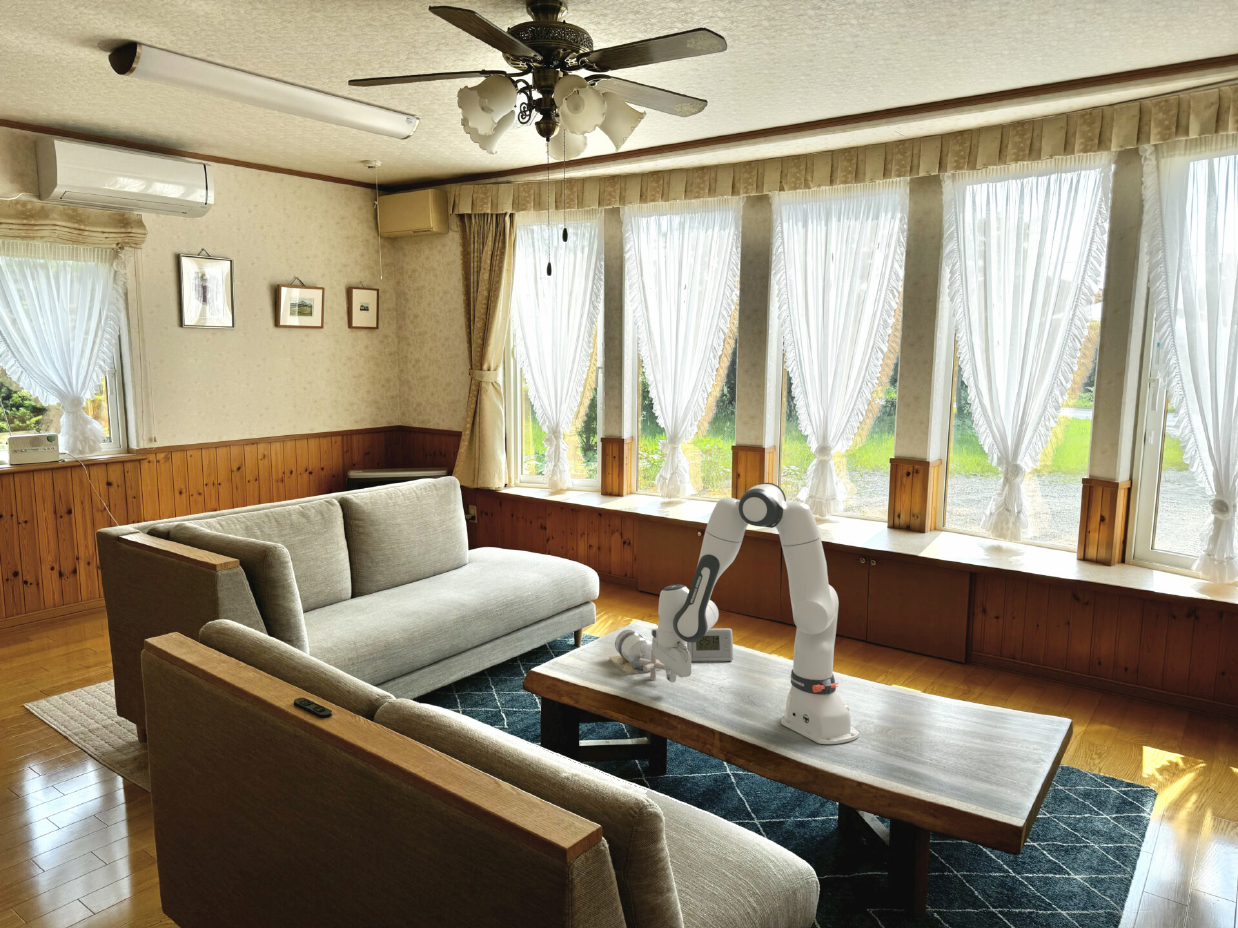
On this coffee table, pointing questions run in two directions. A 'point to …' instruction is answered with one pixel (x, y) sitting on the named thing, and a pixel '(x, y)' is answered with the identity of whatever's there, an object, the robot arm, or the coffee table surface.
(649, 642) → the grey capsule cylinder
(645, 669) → the pipe connector
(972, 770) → the coffee table surface
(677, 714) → the coffee table surface
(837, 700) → the robot arm
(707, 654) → the digital clock
